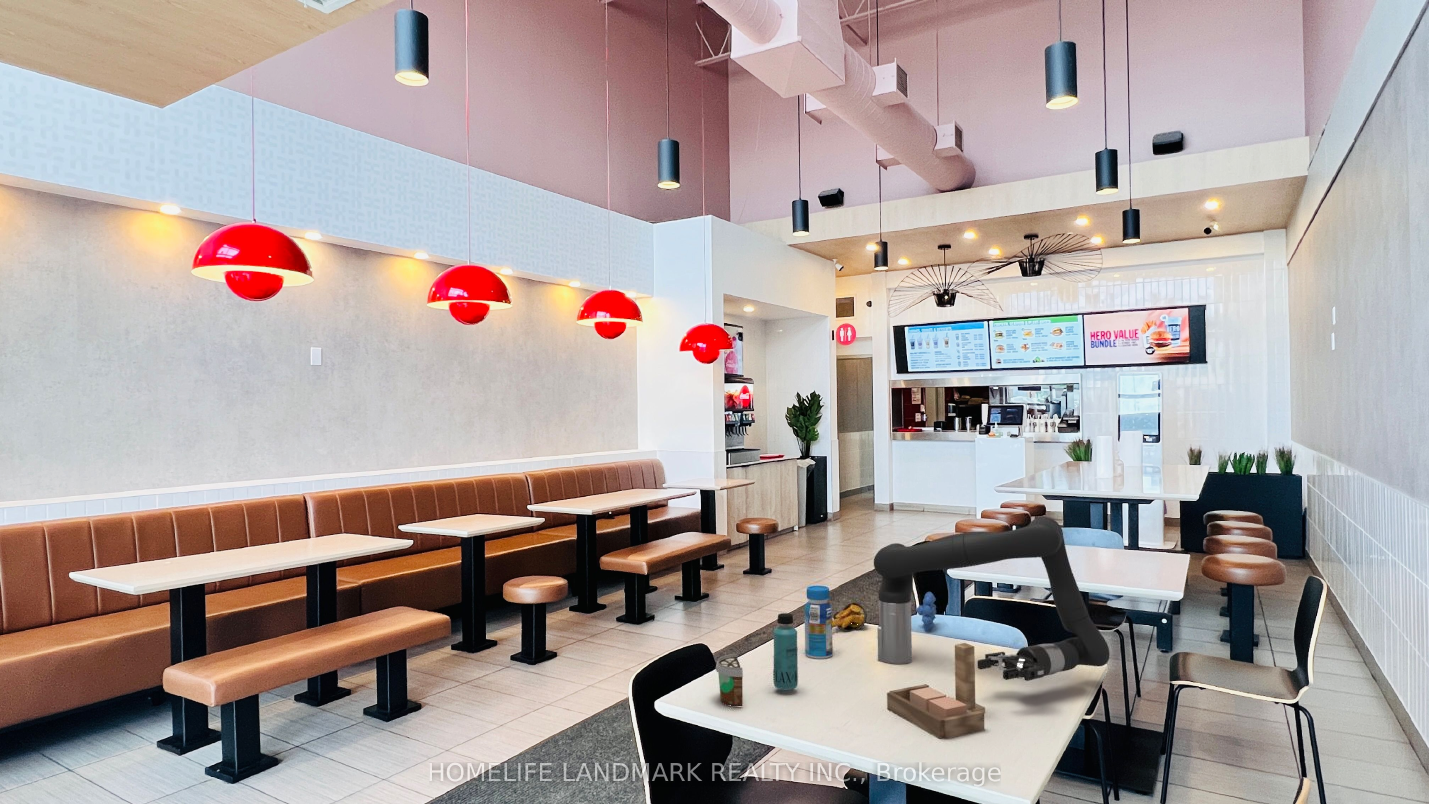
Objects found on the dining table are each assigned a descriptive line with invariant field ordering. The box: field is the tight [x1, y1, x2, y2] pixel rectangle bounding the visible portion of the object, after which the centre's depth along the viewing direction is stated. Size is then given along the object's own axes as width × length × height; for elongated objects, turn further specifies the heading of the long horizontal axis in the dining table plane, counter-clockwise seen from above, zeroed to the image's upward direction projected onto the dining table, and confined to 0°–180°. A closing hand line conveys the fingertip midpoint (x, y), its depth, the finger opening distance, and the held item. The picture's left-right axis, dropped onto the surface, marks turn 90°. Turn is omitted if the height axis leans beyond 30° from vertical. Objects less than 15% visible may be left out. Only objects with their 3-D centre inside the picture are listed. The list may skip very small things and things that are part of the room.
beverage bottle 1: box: [772, 612, 799, 691], centre depth 206 cm, size 6×7×20 cm
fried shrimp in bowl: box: [832, 601, 868, 633], centre depth 261 cm, size 9×11×18 cm
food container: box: [715, 653, 744, 707], centre depth 200 cm, size 12×6×10 cm, turn 5°
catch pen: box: [886, 683, 985, 740], centre depth 187 cm, size 12×20×4 cm, turn 24°
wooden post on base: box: [954, 642, 986, 714], centre depth 190 cm, size 9×15×16 cm, turn 24°
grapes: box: [915, 591, 937, 632], centre depth 262 cm, size 12×7×12 cm, turn 155°
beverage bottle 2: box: [803, 584, 834, 660], centre depth 236 cm, size 8×8×20 cm
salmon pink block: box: [929, 696, 967, 719], centre depth 184 cm, size 6×6×5 cm
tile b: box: [910, 686, 947, 712], centre depth 190 cm, size 6×6×5 cm
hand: (990, 669), depth 194 cm, fingers open, 8 cm apart
